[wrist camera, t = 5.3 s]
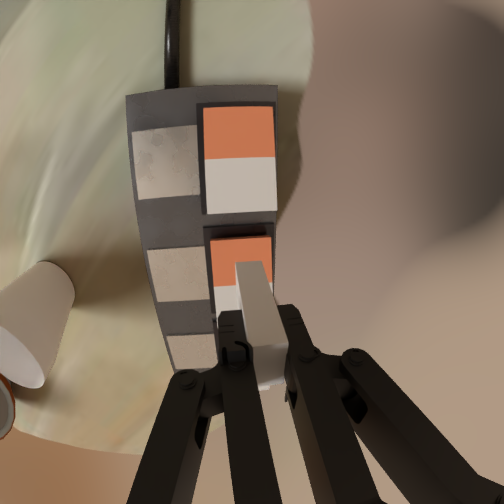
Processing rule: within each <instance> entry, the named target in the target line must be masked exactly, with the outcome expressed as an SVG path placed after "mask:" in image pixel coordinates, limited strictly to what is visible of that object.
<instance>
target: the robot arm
mask: <svg viewBox="0 0 504 504" xmlns="http://www.w3.org/2000/svg"><path fill="white" fill-rule="evenodd" d="M235 271H236V294H237V305H238V310H229V311H221V313H220V314H219V316H218V335H219V351H218V354H219V361H218V363H217V364H216V366H214V367H213V368H212V369H210V370H207V371H204V372H201V373H199V372H198V371H196V370H193V369H184V370H180V371H178V372H177V373H175V374H174V375H173V376H172V378H171V380H170V383H169V385H168V388H167V390H166V393H165V396H164V398H163V401H162V404H161V406H160V409H159V412H158V414H157V417H156V420H155V423H154V425H153V428H152V431H151V434H150V436H149V439H148V442H147V445H146V448H145V450H144V453H143V456H142V459H141V462H140V465H139V468H138V471H137V473H136V476H135V479H134V482H133V485H132V488H131V491H130V494H129V497H128V500H127V503H126V504H191V503H192V498H193V494H194V490H195V485H196V482H197V477H198V473H199V469H200V464H201V460H202V456H203V451H204V447H205V443H206V438H207V435H208V430H209V426H210V422H211V417H212V416H214V415H217V414H220V413H223V412H224V416H225V426H226V436H227V445H228V454H229V463H230V471H231V479H232V486H233V494H234V501H235V504H282V500H281V495H280V491H279V486H278V482H277V477H276V472H275V468H274V463H273V458H272V453H271V449H270V444H269V439H268V434H267V429H266V425H265V419H264V415H263V410H262V404H261V399H260V394H259V389H258V387H260V386H268V385H276V384H283V383H284V377H285V381H286V384H287V386H286V393H285V402H287V400H288V402H289V405H290V409H291V413H292V417H293V420H294V424H295V428H296V432H297V435H298V439H299V443H300V447H301V450H302V454H303V458H304V461H305V465H306V469H307V473H308V476H309V480H310V484H311V487H312V491H313V495H314V499H315V502H316V504H387V503H385V502H383V501H382V500H381V499H380V497H379V494H378V492H377V489H376V486H375V484H374V481H373V478H372V476H371V473H370V471H369V468H368V466H367V463H366V460H365V458H364V455H363V453H362V450H361V447H360V445H359V442H358V440H357V437H356V435H355V432H356V434H357V435H358V436H359V438H360V439H361V440H362V442H363V443H364V444H365V446H366V447H367V448H368V450H369V451H370V452H371V454H372V455H373V456H374V458H375V459H376V460H377V462H378V463H379V464H380V466H381V467H382V468H383V470H384V471H385V472H386V473H387V475H388V476H389V477H390V479H391V480H392V481H393V482H394V484H395V485H396V486H397V488H398V489H399V490H400V491H401V493H402V494H403V495H404V497H405V498H406V499H407V500H408V501H409V503H410V504H504V486H502V485H500V484H498V483H495V482H493V481H491V480H489V479H486V478H484V477H482V476H480V475H478V474H477V473H476V472H475V471H474V469H473V468H472V467H471V466H470V465H469V464H468V463H467V461H466V460H465V459H464V458H463V457H462V456H461V455H460V454H459V453H458V451H457V450H456V449H455V448H454V447H453V446H452V445H451V443H449V441H448V440H447V439H446V438H445V437H444V436H443V435H442V434H441V433H440V431H439V430H438V429H437V428H436V427H435V426H434V425H433V423H432V422H431V421H430V420H429V419H428V418H427V417H426V416H425V415H424V414H423V413H422V411H421V410H420V409H419V408H418V407H417V406H416V405H415V404H414V403H413V402H412V400H410V398H409V397H408V396H407V395H406V394H405V393H404V392H403V391H402V390H401V388H400V387H399V386H398V385H397V384H396V383H395V382H394V381H393V380H392V379H391V378H390V377H389V376H388V374H387V373H386V372H385V371H384V370H383V369H382V368H381V367H380V366H379V365H378V364H377V363H376V362H375V360H373V358H372V357H371V356H370V355H369V354H368V353H367V352H365V351H364V350H361V349H358V348H352V349H348V350H346V351H345V352H343V354H342V356H337V355H327V354H324V353H321V351H320V350H319V349H318V348H316V347H315V346H314V345H313V343H312V341H311V338H310V336H309V334H308V331H307V329H306V326H305V324H304V322H303V319H302V317H301V314H300V312H299V310H298V309H297V308H296V307H295V306H294V305H292V304H287V305H278V306H276V303H275V300H274V297H273V294H272V291H271V288H270V285H269V282H268V279H267V276H266V273H265V270H264V267H263V264H262V261H247V262H235ZM354 431H355V432H354Z"/></svg>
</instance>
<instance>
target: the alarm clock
mask: <svg viewBox="0 0 504 504" xmlns="http://www.w3.org/2000/svg"><path fill="white" fill-rule="evenodd" d="M10 385H11V383H10V381H9V380H8V378H6V377H5V376H4V375H2V374H1V373H0V440H1V439H3V438H4V437H5V436H6V435H7V434H8V433H9V432H10V430H11V429H12V426H13V423H14V420H15V399H14V396H13V392H12V389H11V386H10Z"/></svg>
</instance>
